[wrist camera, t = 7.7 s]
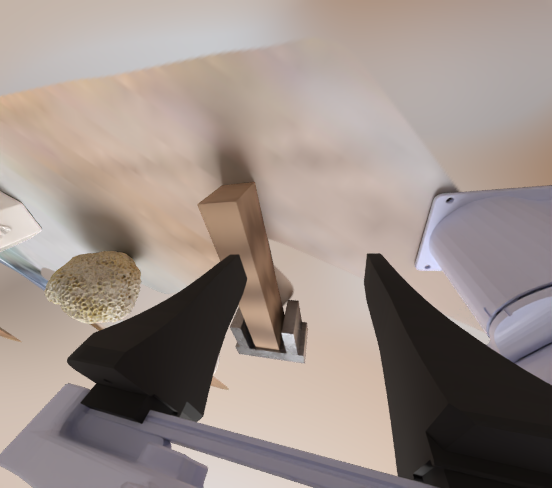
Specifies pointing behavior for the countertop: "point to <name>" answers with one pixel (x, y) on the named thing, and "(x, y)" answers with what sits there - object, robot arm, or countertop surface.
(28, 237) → the jar
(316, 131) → the countertop surface
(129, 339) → the robot arm
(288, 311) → the bracket
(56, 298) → the decorative item
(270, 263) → the rail
